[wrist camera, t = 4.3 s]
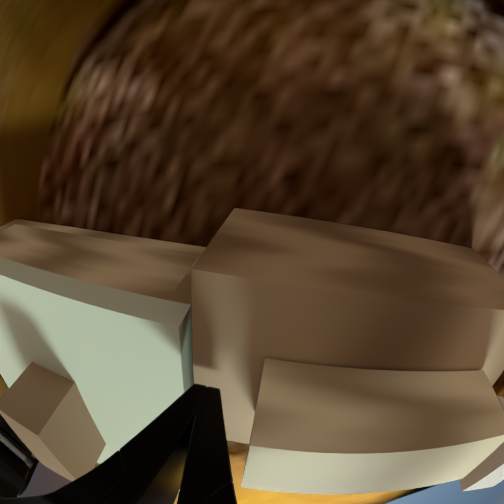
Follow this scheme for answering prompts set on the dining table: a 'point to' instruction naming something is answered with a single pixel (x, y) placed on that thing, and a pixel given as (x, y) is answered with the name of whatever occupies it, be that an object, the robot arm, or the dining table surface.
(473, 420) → the beige rectangular block
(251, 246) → the beige rectangular tray
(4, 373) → the lid
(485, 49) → the dining table surface
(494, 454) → the white cube block
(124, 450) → the robot arm
